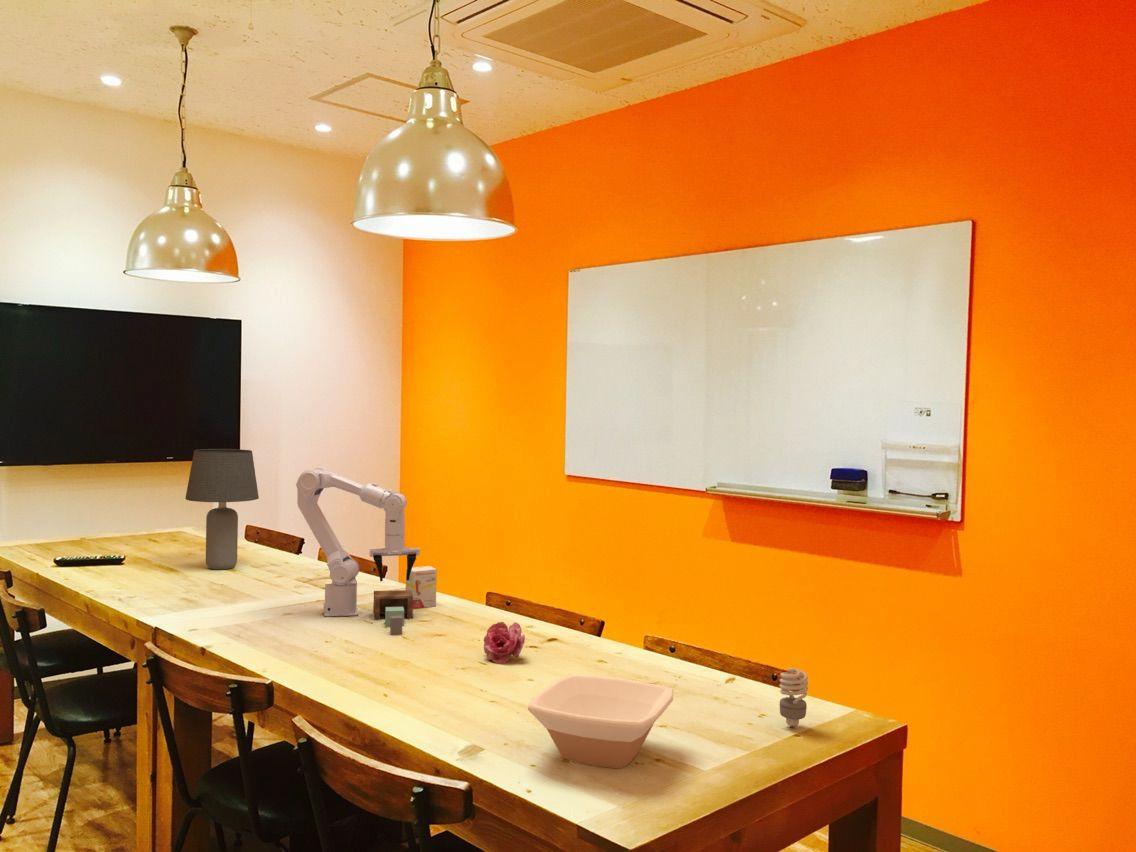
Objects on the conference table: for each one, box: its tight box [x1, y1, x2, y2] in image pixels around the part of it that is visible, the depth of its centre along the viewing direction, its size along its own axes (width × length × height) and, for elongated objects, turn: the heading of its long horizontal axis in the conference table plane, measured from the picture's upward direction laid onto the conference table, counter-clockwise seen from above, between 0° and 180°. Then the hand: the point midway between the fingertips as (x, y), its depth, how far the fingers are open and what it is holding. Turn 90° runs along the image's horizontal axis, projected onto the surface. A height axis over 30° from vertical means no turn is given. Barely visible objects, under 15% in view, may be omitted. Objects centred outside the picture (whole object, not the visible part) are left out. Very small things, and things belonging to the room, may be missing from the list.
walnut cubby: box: [372, 589, 414, 621], centre depth 273 cm, size 11×8×7 cm
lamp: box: [185, 448, 260, 571], centre depth 339 cm, size 25×25×43 cm
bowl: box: [527, 673, 674, 769], centre depth 172 cm, size 24×25×11 cm
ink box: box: [404, 565, 438, 610], centre depth 287 cm, size 9×5×12 cm, turn 126°
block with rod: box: [384, 607, 405, 636], centre depth 259 cm, size 5×14×4 cm, turn 13°
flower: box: [483, 621, 526, 665], centre depth 232 cm, size 11×10×10 cm
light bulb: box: [778, 667, 809, 728], centre depth 188 cm, size 6×6×12 cm
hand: (394, 580), depth 274 cm, fingers open, 7 cm apart
